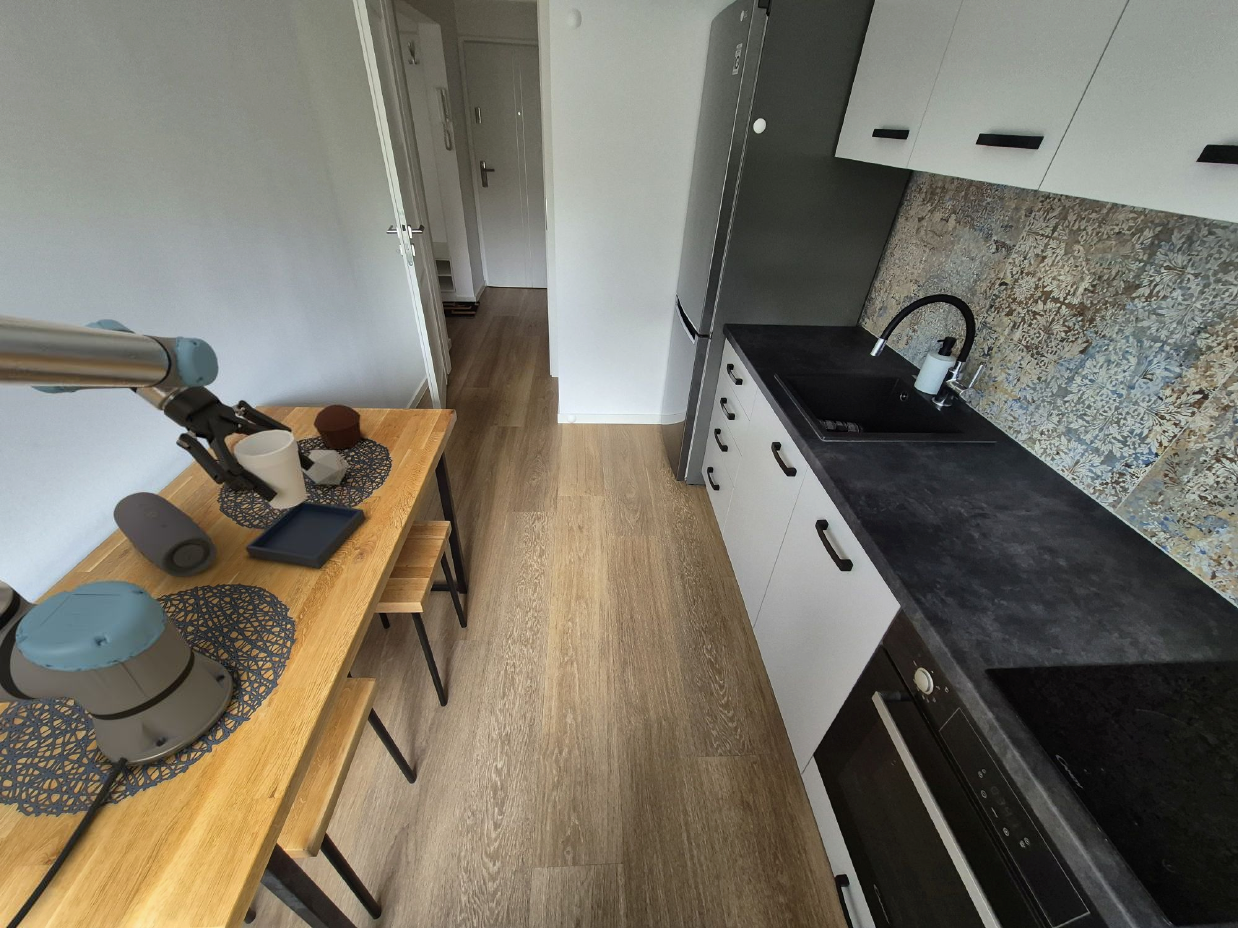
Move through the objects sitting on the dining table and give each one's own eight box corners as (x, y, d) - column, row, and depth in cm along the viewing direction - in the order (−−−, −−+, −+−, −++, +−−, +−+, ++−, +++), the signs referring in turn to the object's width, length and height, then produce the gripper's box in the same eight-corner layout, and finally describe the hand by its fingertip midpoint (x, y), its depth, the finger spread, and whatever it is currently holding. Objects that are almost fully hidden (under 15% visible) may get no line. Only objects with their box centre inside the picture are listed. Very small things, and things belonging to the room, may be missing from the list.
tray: (319, 568, 97) (315, 559, 96) (250, 556, 99) (244, 547, 98) (365, 518, 110) (362, 509, 108) (303, 508, 112) (299, 499, 110)
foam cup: (325, 495, 98) (304, 440, 91) (277, 520, 92) (251, 463, 84) (298, 479, 102) (276, 424, 95) (251, 502, 96) (223, 445, 88)
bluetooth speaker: (230, 562, 98) (208, 524, 92) (174, 592, 91) (147, 553, 85) (179, 517, 107) (156, 481, 102) (126, 542, 101) (98, 504, 95)
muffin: (315, 438, 136) (303, 406, 130) (357, 426, 142) (347, 394, 136) (329, 457, 129) (318, 424, 123) (373, 443, 135) (363, 410, 129)
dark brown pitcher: (271, 478, 120) (255, 443, 115) (246, 496, 114) (228, 461, 108) (244, 474, 121) (228, 439, 116) (219, 492, 115) (200, 457, 109)
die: (324, 499, 116) (343, 464, 114) (288, 479, 114) (307, 443, 112) (342, 488, 124) (360, 456, 122) (309, 470, 123) (327, 436, 121)
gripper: (124, 416, 76) (255, 509, 83) (238, 361, 94) (338, 441, 101) (113, 441, 80) (240, 528, 87) (225, 383, 98) (322, 459, 105)
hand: (293, 481), depth 94 cm, fingers closed on foam cup, 9 cm apart
